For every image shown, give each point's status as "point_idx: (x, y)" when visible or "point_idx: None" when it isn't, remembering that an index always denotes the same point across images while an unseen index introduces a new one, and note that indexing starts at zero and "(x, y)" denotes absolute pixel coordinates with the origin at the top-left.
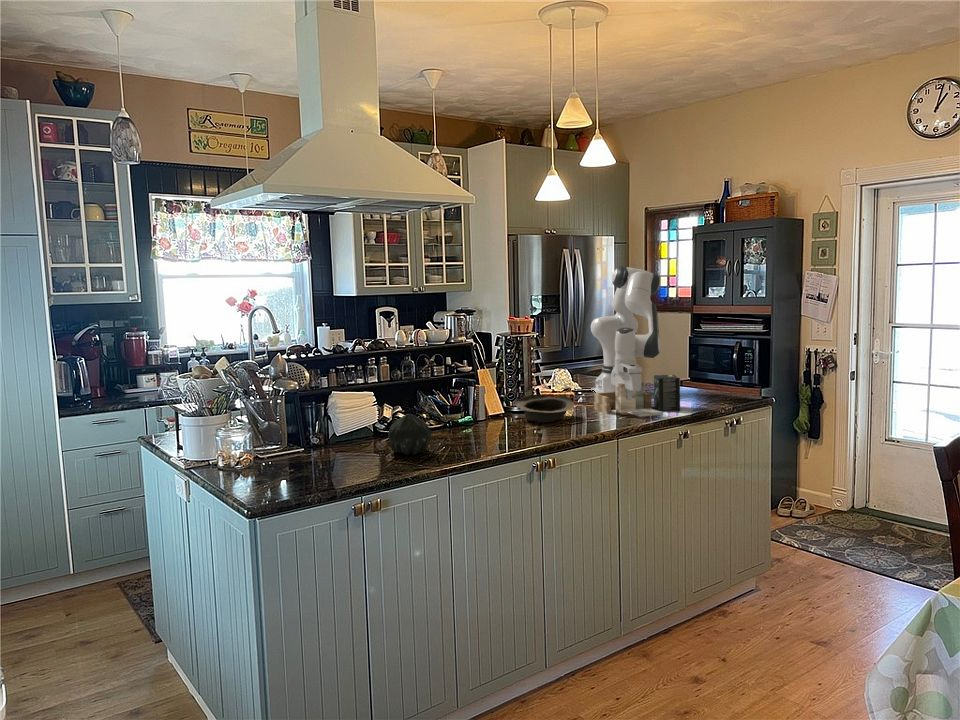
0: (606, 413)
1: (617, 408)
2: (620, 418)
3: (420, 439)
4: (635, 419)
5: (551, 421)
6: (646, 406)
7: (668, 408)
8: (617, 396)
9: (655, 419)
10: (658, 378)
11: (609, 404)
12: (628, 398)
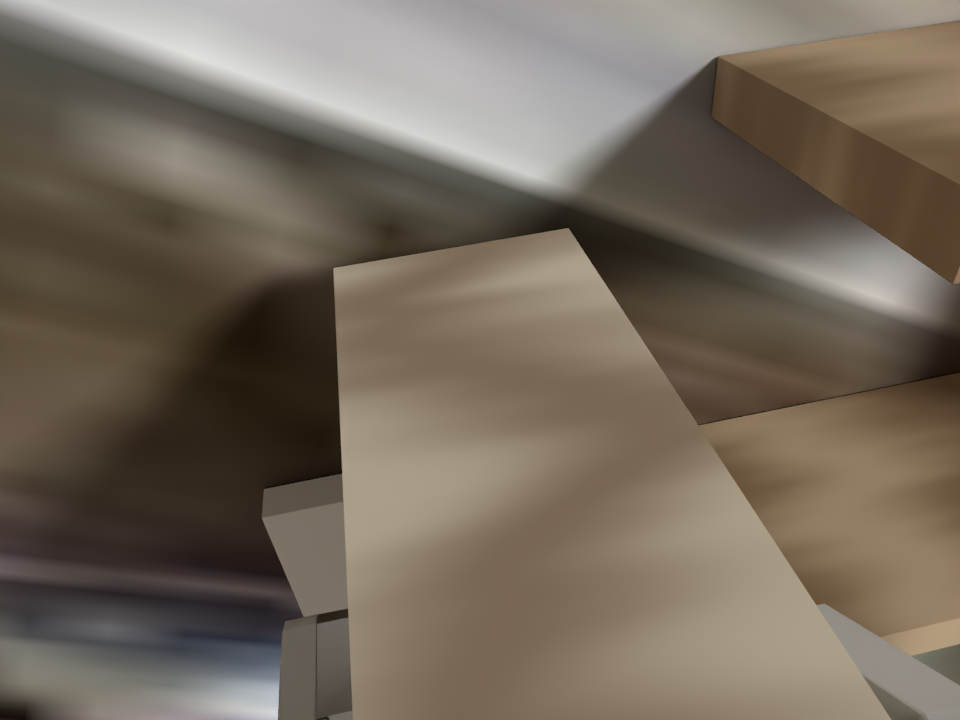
0: (750, 53)
1: (501, 272)
2: (166, 165)
3: None
4: (30, 391)
5: None
6: None
7: None
8: (586, 489)
9: (22, 612)
10: None
11: (824, 192)
12: (287, 664)
